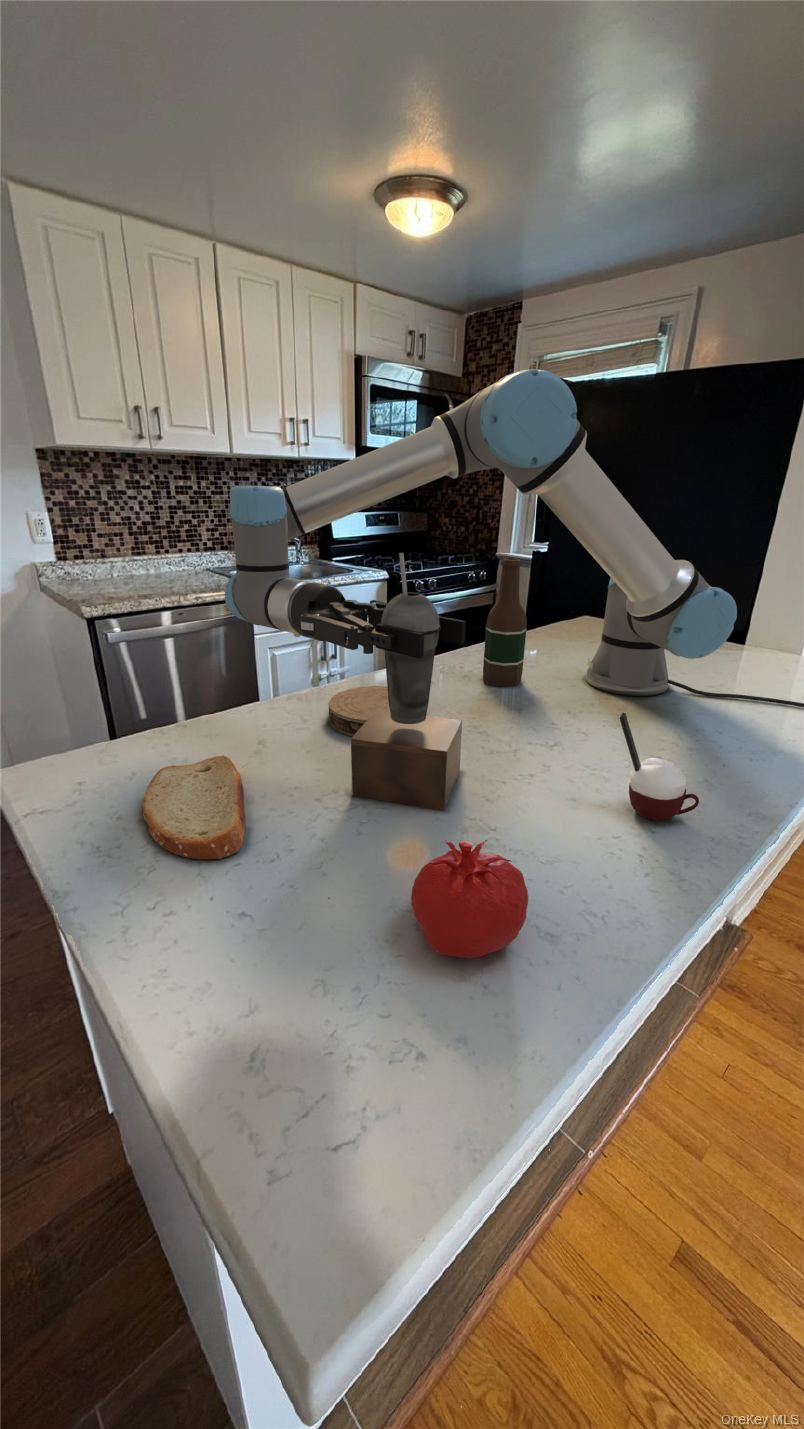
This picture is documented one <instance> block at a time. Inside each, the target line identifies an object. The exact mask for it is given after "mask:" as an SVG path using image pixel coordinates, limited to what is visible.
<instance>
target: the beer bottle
mask: <svg viewBox="0 0 804 1429" xmlns="http://www.w3.org/2000/svg"><path fill="white" fill-rule="evenodd" d="M500 565H501V566H502V567H501V575H500V583H499V590H498V596H497V599H496V602H495V603H494V605H492V607H491V608H490V611H489V613H488V615H487V618H486V623H485V624H486V625H485V634H484V651H483V664H482V665H483V666H482V679H483V681H484V682H485V683H486V684H487V685H490V686H493V687H500V688H507V687H510V688H511V687H515V686H517V685H518V684H520V683H521V681H522V676H523V670H524V660H525V649H526V648H525V647H526V639H527V628H528V627H527V626H528V624H527V623H528V621H527V615H526V610H525V609H524V607H523V605H522V604H521V601H520V576H521V574H520V573H521V566H523V565H522V560H521V559H520V558H517V557H516V558H515V557H505V558H503V559H502V560H501V563H500Z"/></svg>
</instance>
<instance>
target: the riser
mask: <svg viewBox="0 0 804 1429" xmlns="http://www.w3.org/2000/svg"><path fill="white" fill-rule="evenodd" d="M462 734H463V719H458V718H450V717H442V716H433V715H426V719H425V721H423V722H421V723H417V724H401V723H397V722H395V721H393V720H392V719H391V713H390V711H382V710H376V711H375V712H374V713H373V714H372V715H371V717H370V718H369V719H368V720H367V721H366V722H365V723H364V724H363V726H362V727H361V728H360V729H359V730H358V731H357V732H356V734H355V735H354V736H351V738H350V761H351V764H350V765H351V766H350V767H351V795H352V797H357V798H365V799H370V800H371V799H372V800H377V801H383V802H390V803H396V804H403V805H409V806H415V807H421V808H427V809H432V810H433V809H434V810H439V811H445V810H446V807H447V805H448V802H449V801H450V798H451V795H452V792H453V790H454V788H455V785H456V783H457V780H458V778H459V776H460V772H461V771H460V770H461V755H462V754H461V751H462Z"/></svg>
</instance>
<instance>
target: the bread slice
mask: <svg viewBox="0 0 804 1429" xmlns="http://www.w3.org/2000/svg"><path fill="white" fill-rule="evenodd" d="M236 767H237V766H235V764H234V763H233V761H232V760H231V758H229V757H228V756H226V755H224V754H223V755H215V756H213V757H208V758H205V759H203V760H201V761H197V762H195V763H191V764H181V765H170V766H165V767H162V768H160V769H159V770H158V771H157V772H156V773H155V774H154V776H153V777H152V779H151V780H150V782H149V783H148V785H147V787H146V788H145V794H144V796H143V798H142V810H143V812H142V815H143V819H144V821H145V822H146V824H147V825H148V833H149V835H150V836H151V838H152V839H153V841H154V842H156V843H157V844H159V845H160V847H162V848H163V849H164V850H166V851H168V852H170V853H172V854H174V855H176V856H177V855H178V856H180V857H183V858H188V859H193V860H215V859H216V860H222V859H224V858H226V857H230V856H232V855H234V854H236V853H238V852H240V850H241V848H242V846H243V844H244V836H245V830H246V815H245V794H244V793H245V792H244V786H243V779H242V777H241V774H240V772H239V771H238V769H237V768H236Z"/></svg>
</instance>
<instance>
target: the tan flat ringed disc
mask: <svg viewBox="0 0 804 1429" xmlns="http://www.w3.org/2000/svg"><path fill="white" fill-rule="evenodd" d="M327 705H328V721H329V724H330V726H331V727H333V729H334V730H336V731H337V732H339V733H342V734H345V735H347V736H351V737H353V736H354V735H355V734H356V732H357V731H358V730H359V729H360V728H361V727H362V726H363V724H364V723H365V722H366V721H367V720H368V719H369V718H370V717H371V715H372V714H373V713H374V712H375V711H376V710H382V711H390V707H389V699H388V687H387V686H382V685H371V686H359V687H355V688H354V687H353V688H349V689H346V690H343V691H340V692H337V693H336V694H335V695H333V696H331V697H330V699H329V701H328V704H327Z"/></svg>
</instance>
